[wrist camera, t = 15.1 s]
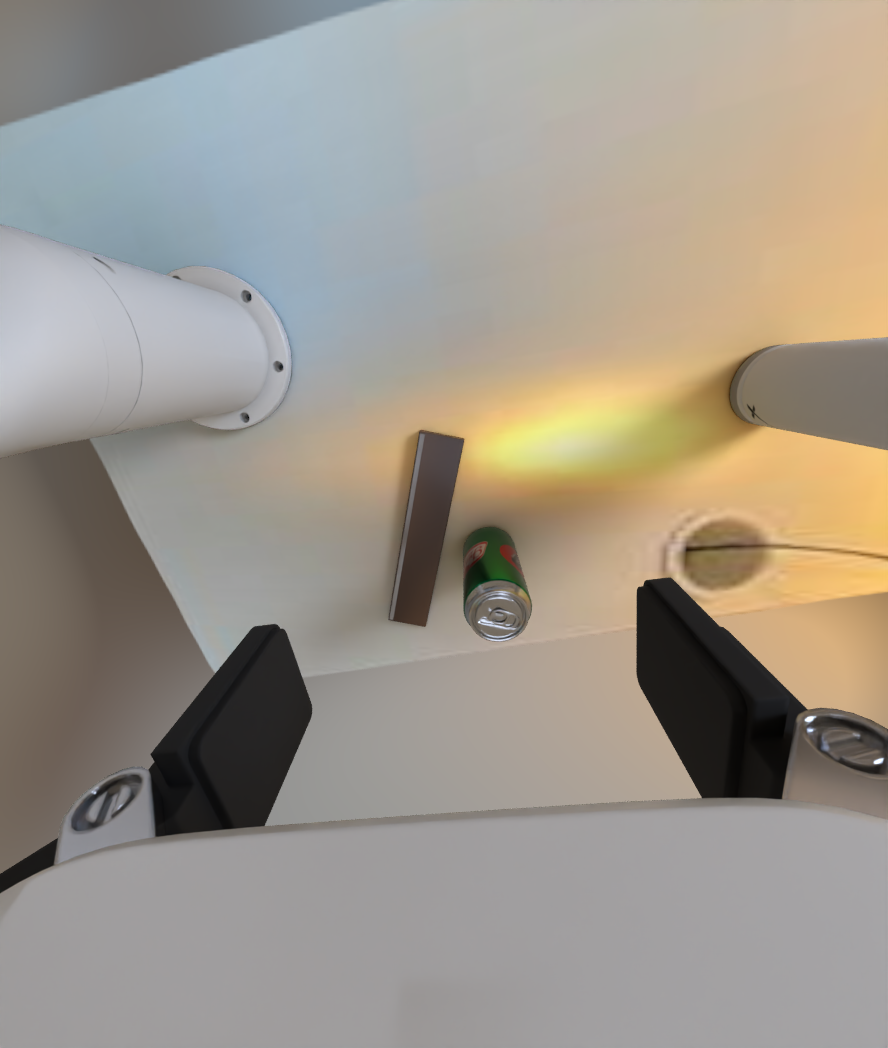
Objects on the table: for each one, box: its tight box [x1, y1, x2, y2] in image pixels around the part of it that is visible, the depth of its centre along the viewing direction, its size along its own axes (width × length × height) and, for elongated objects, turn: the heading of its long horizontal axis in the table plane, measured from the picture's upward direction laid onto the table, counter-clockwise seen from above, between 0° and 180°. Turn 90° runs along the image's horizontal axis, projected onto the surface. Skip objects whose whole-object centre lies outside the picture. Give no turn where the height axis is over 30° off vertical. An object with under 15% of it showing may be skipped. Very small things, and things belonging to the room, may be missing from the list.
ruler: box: [388, 430, 464, 627], centre depth 40 cm, size 4×20×1 cm, turn 169°
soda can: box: [463, 527, 532, 642], centre depth 35 cm, size 5×5×12 cm
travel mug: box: [730, 337, 888, 450], centre depth 25 cm, size 6×7×20 cm
